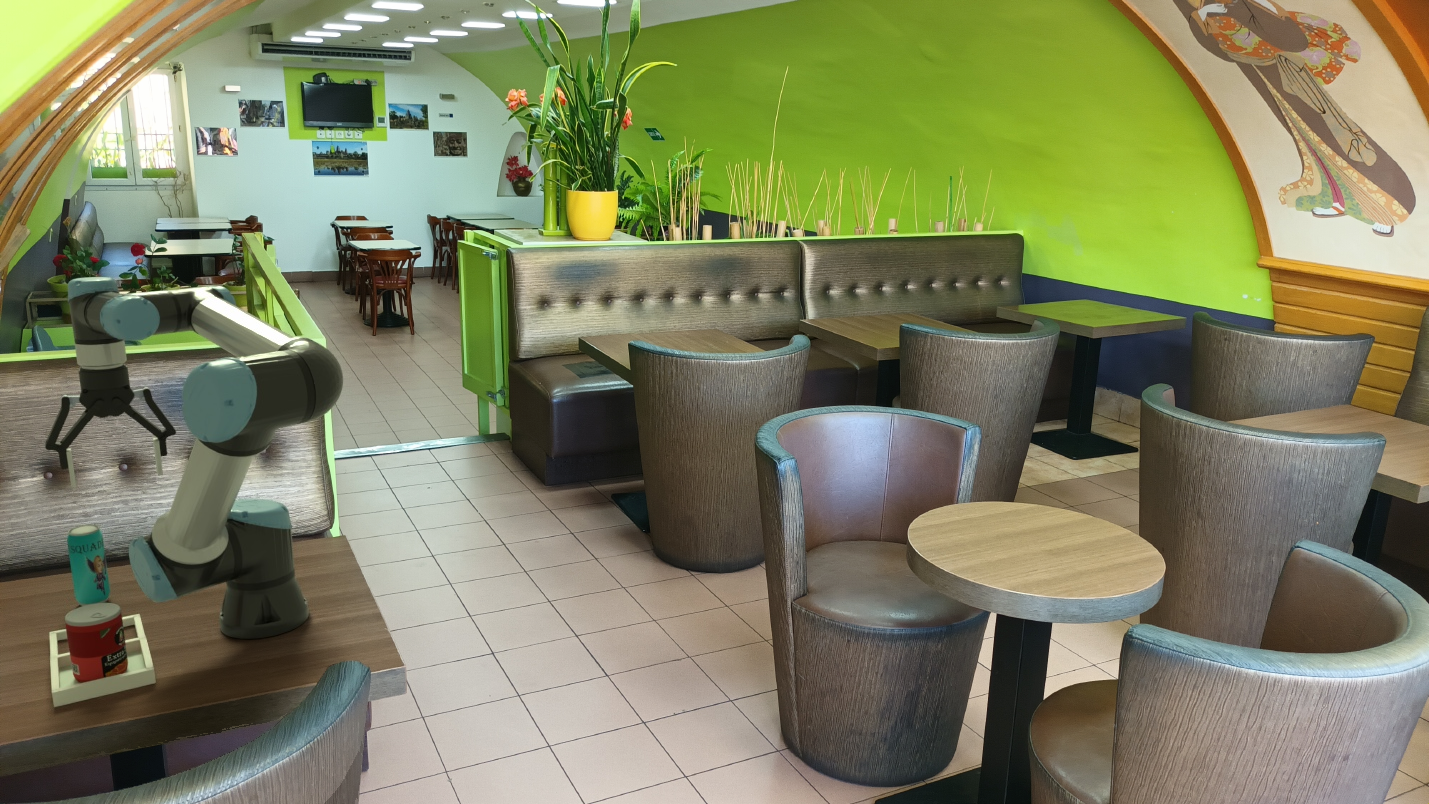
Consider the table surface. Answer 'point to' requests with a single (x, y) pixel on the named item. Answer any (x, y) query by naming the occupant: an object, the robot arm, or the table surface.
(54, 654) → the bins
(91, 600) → the beverage can
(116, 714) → the table surface
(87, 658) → the canned food
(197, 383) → the robot arm
